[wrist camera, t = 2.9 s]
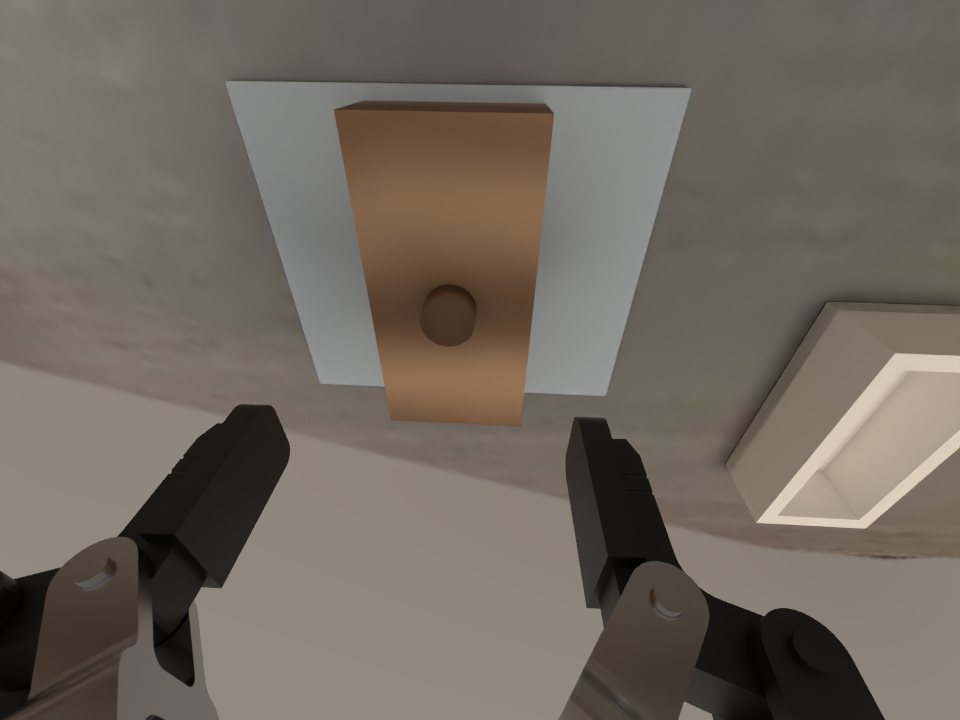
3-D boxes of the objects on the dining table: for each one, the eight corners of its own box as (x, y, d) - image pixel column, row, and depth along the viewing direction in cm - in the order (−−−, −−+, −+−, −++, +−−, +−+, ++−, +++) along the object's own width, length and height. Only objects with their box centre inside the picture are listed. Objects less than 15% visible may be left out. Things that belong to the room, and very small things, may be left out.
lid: (363, 100, 14) (318, 114, 11) (545, 104, 14) (558, 118, 10) (403, 380, 22) (385, 438, 18) (518, 385, 22) (521, 445, 18)
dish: (827, 301, 18) (895, 353, 15) (962, 306, 18) (1060, 359, 15) (725, 464, 25) (756, 522, 22) (820, 469, 25) (865, 528, 22)
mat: (232, 80, 14) (224, 81, 14) (686, 87, 14) (691, 88, 13) (323, 378, 23) (320, 383, 22) (603, 389, 22) (605, 395, 22)
